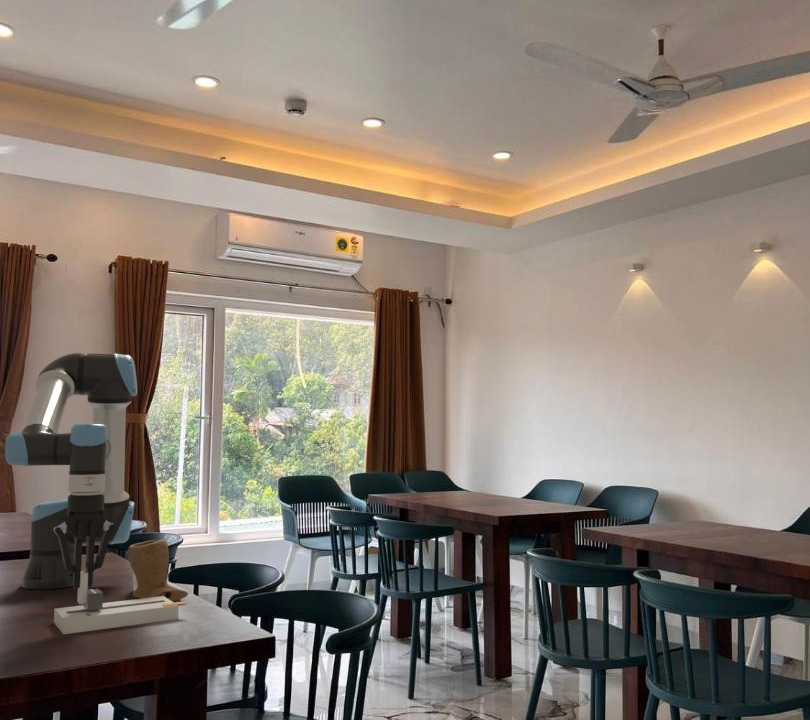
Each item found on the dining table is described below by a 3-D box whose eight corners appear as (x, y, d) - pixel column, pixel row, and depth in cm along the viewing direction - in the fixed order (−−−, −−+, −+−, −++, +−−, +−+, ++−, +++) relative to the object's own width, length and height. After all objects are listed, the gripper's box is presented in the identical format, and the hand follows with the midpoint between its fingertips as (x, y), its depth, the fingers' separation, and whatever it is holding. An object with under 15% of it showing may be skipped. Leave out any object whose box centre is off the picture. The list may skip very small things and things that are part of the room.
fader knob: (83, 606, 170) (83, 590, 170) (97, 604, 171) (97, 588, 172) (87, 610, 166) (88, 593, 166) (102, 608, 167) (102, 592, 168)
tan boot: (119, 598, 194) (121, 538, 196) (165, 592, 202) (166, 534, 203) (141, 609, 183) (143, 545, 184) (189, 602, 190) (190, 540, 192)
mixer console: (53, 622, 169) (54, 607, 170) (171, 607, 184) (171, 594, 184) (63, 634, 159) (64, 618, 160) (187, 617, 174) (187, 603, 174)
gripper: (57, 495, 163) (52, 609, 161) (121, 493, 170) (117, 602, 168) (51, 493, 169) (46, 602, 167) (113, 491, 176) (109, 596, 174)
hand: (82, 602), depth 167 cm, fingers closed
